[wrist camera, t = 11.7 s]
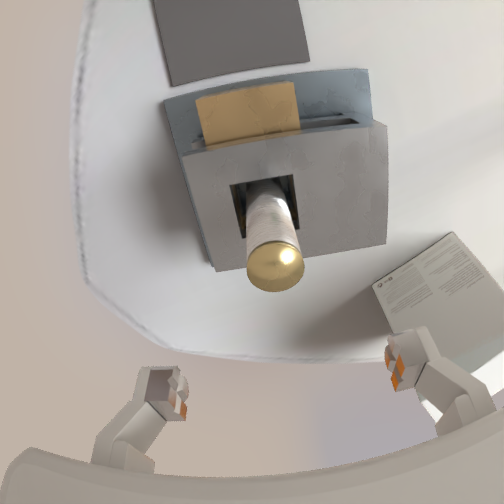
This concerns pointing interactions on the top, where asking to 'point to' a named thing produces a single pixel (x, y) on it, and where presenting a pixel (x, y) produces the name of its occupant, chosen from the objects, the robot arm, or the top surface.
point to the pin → (271, 237)
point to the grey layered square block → (285, 159)
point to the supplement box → (450, 309)
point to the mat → (229, 36)
